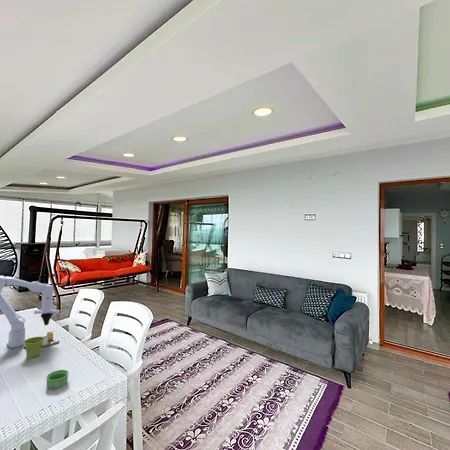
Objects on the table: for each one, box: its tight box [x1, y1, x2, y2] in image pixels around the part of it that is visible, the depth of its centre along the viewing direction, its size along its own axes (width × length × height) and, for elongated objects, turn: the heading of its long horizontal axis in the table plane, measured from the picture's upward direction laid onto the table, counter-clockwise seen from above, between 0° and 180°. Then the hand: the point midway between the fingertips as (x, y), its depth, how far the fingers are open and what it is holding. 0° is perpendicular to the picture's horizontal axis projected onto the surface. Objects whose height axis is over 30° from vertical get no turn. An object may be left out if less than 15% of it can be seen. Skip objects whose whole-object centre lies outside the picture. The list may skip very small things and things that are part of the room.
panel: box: [23, 337, 60, 350], centre depth 162 cm, size 10×15×2 cm, turn 146°
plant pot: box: [24, 336, 44, 358], centre depth 149 cm, size 9×9×9 cm
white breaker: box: [42, 335, 48, 345], centre depth 160 cm, size 3×3×4 cm
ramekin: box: [45, 369, 70, 390], centre depth 122 cm, size 9×9×4 cm
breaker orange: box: [46, 331, 54, 340], centre depth 167 cm, size 3×3×4 cm
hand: (46, 324), depth 170 cm, fingers closed
